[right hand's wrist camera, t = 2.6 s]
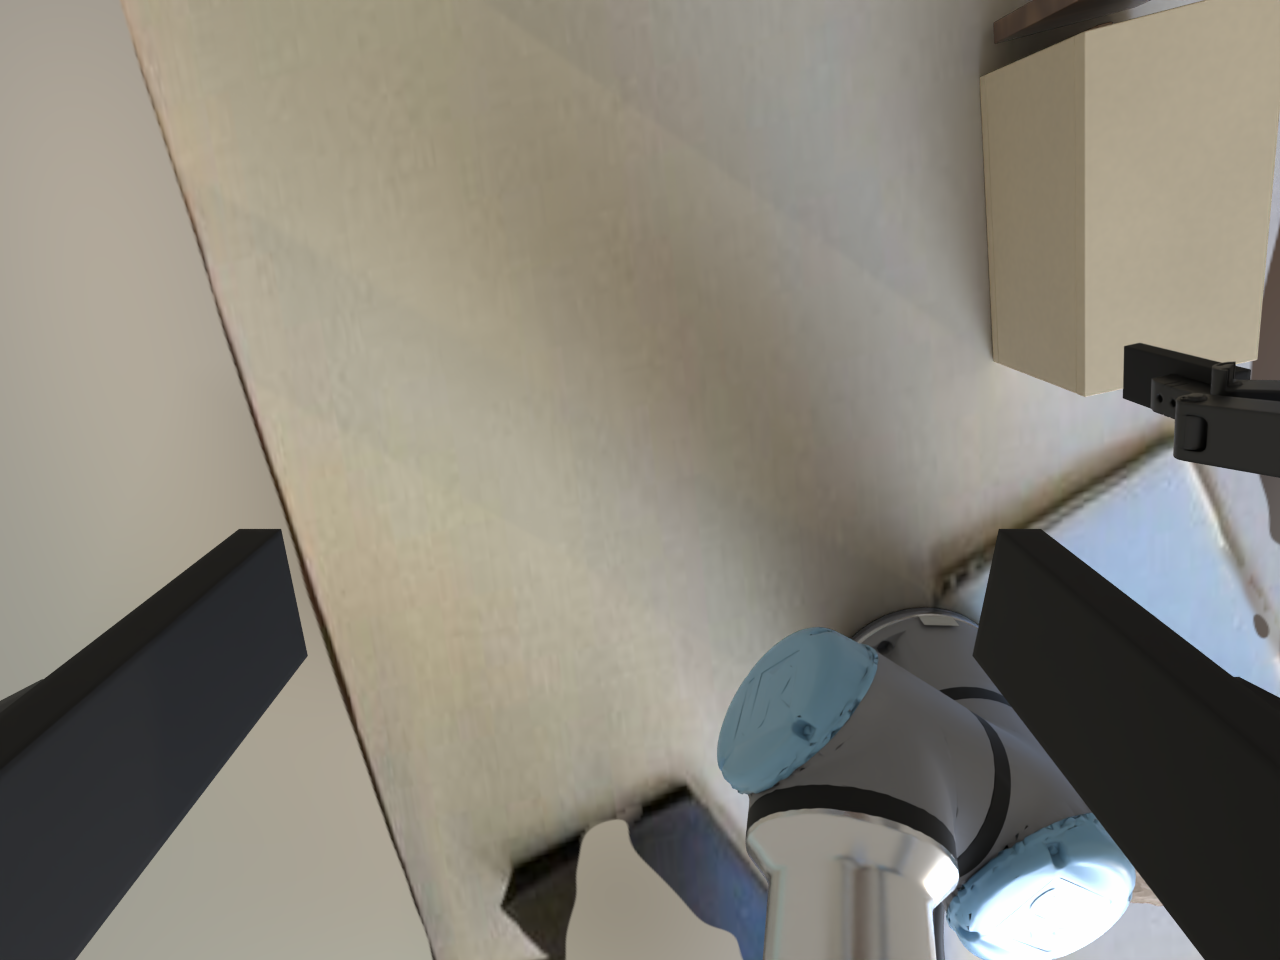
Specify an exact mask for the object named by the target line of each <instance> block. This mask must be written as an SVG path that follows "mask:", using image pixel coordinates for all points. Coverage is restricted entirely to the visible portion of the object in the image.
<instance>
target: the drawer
mask: <svg viewBox="0 0 1280 960" xmlns="http://www.w3.org/2000/svg"><path fill="white" fill-rule="evenodd" d="M1148 1H1150V0H1033V1H1031V2H1029V3H1027V4H1026V5H1024V6H1022V7H1020V8H1019V9H1017V10H1015V11H1013V12H1012V13H1010V14H1008V15H1006V16H1005V17H1003V18H1001V19H999V20H998V21H996V22H994V43H995V44H996V43H1000V42H1004V41H1007V40H1011V39H1015V38H1019V37H1023V36H1027V35H1030V34H1034V33H1038V32H1042V31H1046V30H1050V29H1053V28H1057V27H1061V26H1065V25H1069V24H1073V23H1076V22H1080V21H1084V20H1088V19H1092V18H1096V17H1100V16H1103V15H1107V14H1111V13H1115V12H1119V11H1123V10H1126V9H1130V8H1134V7H1137V6H1139V5H1141V4H1144V3H1146V2H1148ZM1111 24H1113V22H1108V23H1104V24H1100V25H1097V26H1095V27H1093V28H1090V29H1088V30H1092V29H1096V28H1099V27H1103V26H1107V25H1111ZM1088 30H1086V31H1088ZM1083 32H1084V31H1083ZM1081 33H1082V32H1081ZM1079 34H1080V33H1079ZM1077 35H1078V34H1077ZM1074 36H1076V35H1074ZM1072 37H1073V36H1072ZM1070 38H1071V37H1070ZM1067 39H1069V38H1067ZM1065 40H1066V39H1065ZM1063 41H1064V40H1063ZM1060 42H1062V41H1060ZM1058 43H1059V42H1058ZM1056 44H1057V43H1056ZM1054 45H1055V44H1054ZM1051 46H1053V45H1051ZM1049 47H1050V46H1049ZM1047 48H1048V47H1047ZM1044 49H1046V48H1044ZM1042 50H1043V49H1042ZM1040 51H1041V50H1040ZM1038 52H1039V51H1038ZM1035 53H1036V52H1035ZM1033 54H1034V53H1033ZM1031 55H1032V54H1031ZM1028 56H1030V55H1028ZM1026 57H1027V56H1026ZM1024 58H1025V57H1024ZM1022 59H1023V58H1022ZM1019 60H1020V59H1019ZM1017 61H1018V60H1017ZM1015 62H1016V61H1015ZM1012 63H1013V62H1012Z"/></svg>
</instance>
